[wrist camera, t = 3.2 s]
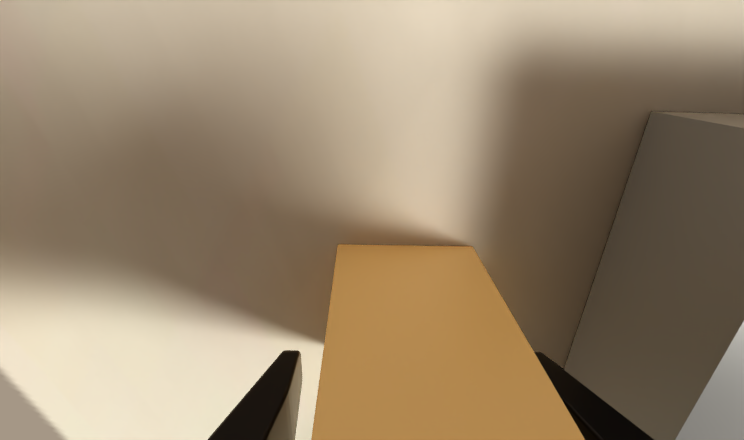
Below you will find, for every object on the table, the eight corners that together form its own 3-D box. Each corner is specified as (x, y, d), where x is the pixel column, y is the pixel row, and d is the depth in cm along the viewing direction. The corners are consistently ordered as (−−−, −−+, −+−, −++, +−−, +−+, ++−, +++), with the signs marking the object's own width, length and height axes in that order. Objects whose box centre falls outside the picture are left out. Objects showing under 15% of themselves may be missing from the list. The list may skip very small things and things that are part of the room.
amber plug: (455, 348, 12) (590, 772, 5) (339, 348, 12) (302, 781, 5) (472, 246, 11) (710, 654, 3) (337, 244, 11) (281, 663, 3)
